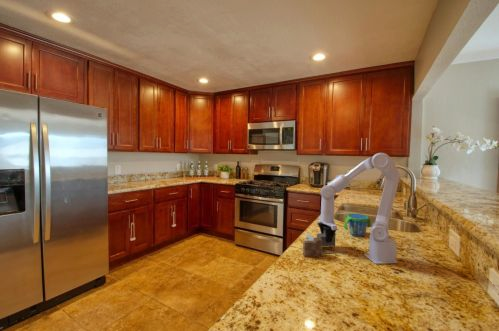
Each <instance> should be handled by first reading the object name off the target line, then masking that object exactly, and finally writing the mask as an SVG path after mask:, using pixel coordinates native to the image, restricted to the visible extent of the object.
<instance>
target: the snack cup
mask: <svg viewBox="0 0 499 331" xmlns="http://www.w3.org/2000/svg"><path fill="white" fill-rule="evenodd" d="M371 222H372V221H371V219H370V217H369V216H368V215H366V214H363V213H362V214H361V213H356V212H355V213H347V215H346V218H345V220H344V224H343V228H344V230H346V231H348V230H349V233H350V235H351V236H356V237H363V236H365V235H366V232H367V228H371V227H372V223H371Z"/></svg>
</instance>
